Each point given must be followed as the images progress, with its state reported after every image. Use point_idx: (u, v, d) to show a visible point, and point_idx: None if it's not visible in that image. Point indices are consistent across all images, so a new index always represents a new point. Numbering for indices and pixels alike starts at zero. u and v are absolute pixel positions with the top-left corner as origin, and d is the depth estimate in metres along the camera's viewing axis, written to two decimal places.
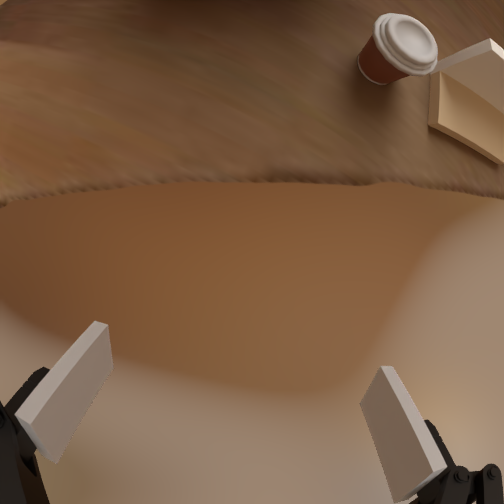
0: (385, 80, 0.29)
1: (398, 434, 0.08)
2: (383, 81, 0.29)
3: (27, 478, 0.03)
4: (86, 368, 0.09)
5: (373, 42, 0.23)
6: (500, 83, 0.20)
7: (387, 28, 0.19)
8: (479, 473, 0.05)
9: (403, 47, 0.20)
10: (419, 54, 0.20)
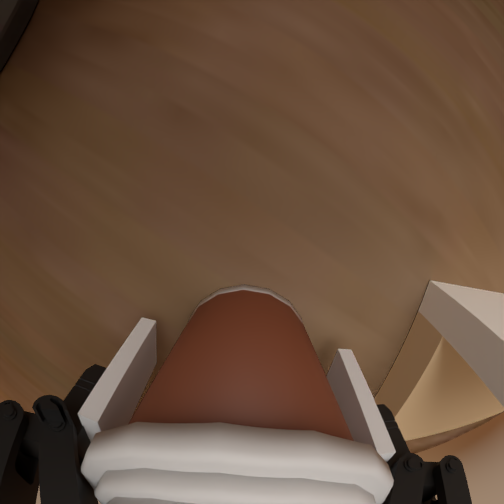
0: None
1: (350, 416, 0.09)
2: None
3: (83, 483, 0.04)
4: (139, 363, 0.10)
5: None
6: None
7: None
8: (435, 467, 0.06)
9: None
10: None
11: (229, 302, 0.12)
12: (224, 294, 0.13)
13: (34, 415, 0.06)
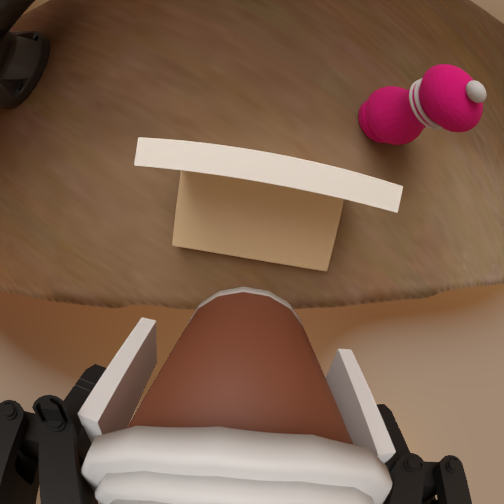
0: None
1: (350, 415, 0.09)
2: None
3: (83, 483, 0.04)
4: (139, 363, 0.10)
5: None
6: None
7: None
8: (435, 467, 0.06)
9: None
10: None
11: (229, 304, 0.12)
12: (224, 296, 0.13)
13: (34, 415, 0.06)
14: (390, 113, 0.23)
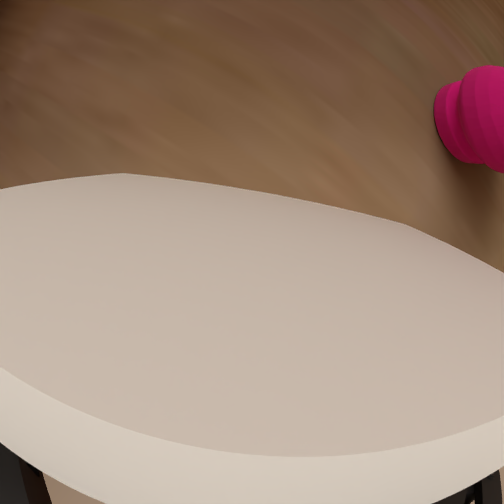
0: None
1: None
2: None
3: (29, 478, 0.03)
4: None
5: None
6: None
7: None
8: None
9: None
10: None
11: None
12: None
13: None
14: None
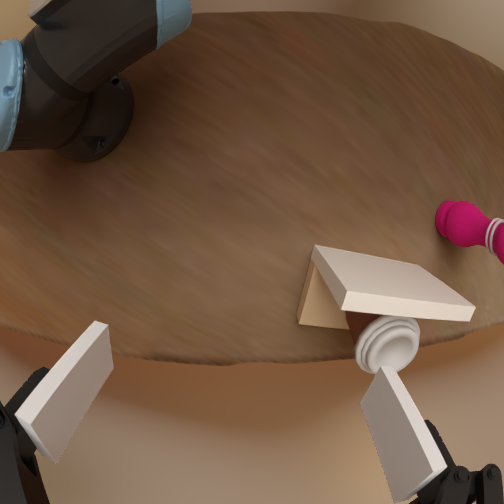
0: None
1: (398, 434, 0.08)
2: None
3: (27, 478, 0.03)
4: (86, 368, 0.09)
5: (356, 340, 0.32)
6: None
7: (369, 354, 0.28)
8: (479, 473, 0.05)
9: (376, 370, 0.28)
10: None
11: None
12: None
13: None
14: (466, 233, 0.30)
